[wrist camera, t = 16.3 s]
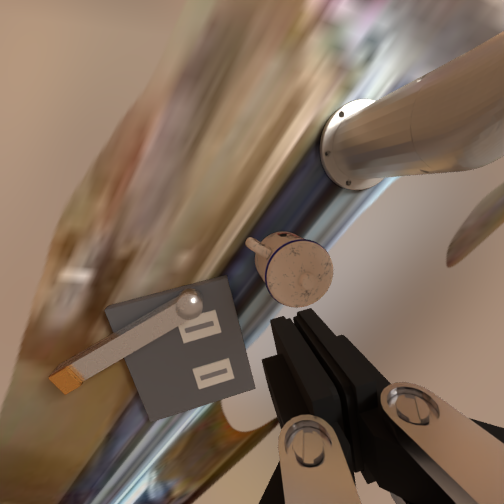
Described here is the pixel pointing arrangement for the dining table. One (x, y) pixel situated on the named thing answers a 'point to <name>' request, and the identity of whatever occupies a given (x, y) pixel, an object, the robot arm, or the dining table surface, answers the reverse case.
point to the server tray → (187, 352)
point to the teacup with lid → (292, 268)
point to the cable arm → (127, 340)
